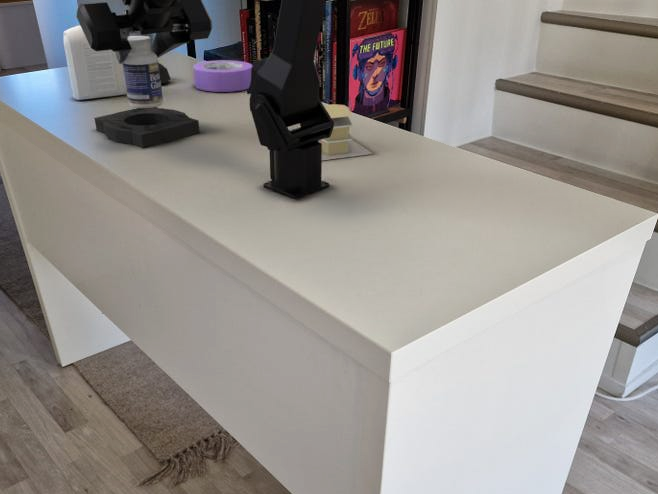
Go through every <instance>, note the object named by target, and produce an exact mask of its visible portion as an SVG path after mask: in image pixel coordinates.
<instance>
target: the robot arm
mask: <svg viewBox="0 0 658 494" xmlns="http://www.w3.org/2000/svg"><path fill="white" fill-rule="evenodd" d="M121 1H122V3H123V5H124V6H127V8H128V9H125V10H124V14H118V15H117V13H116V12H115V11H113V12H112V10H111V8H110V6H109V4H108V2H107V1H93V2H91V1H90V2H80V3H79V5H78V7H77V9H76V16H75V17H76V19H77V21H78V23H79V25H80V26H81V28H82V30H83V32H84V34H85V36H86V39H87V41H88V43H89V45H90V47H91V49H93V50H95V51H104V50H112V51H114V52H115V54H116V57H117V60H118V62H119V64H122V63H123V62H124V61H125V59H126V58H127V56H128V54H129V53H130V51H131V49H132V48H131V45H130V43H129V41H128V37H129V36H130V34H131V35H132V34H138V33H140V36H145V35H152V34H155V36H154V39H153V43H152V48H151V52H153V53H155V54H156V55H157V58H158V59H159V58H161V57H162V56H164V55H166V54H168V53H169V52H171V51H173V50H175V49H178V48H179V47H181V46H183V45H185V44H189V43H190V42H191V40H192V41H197V40H205V39H209V37H210V35H211V32H212V30H213V27H214V26H213V20H212V18H211V16H210V14H209V11H208V10H207V7H206V6H205V3H204V1H203V0H121ZM326 3H327V0H281V3H280V9H279V15H278V20H277V25H276V30H275V31H276V32H275V38H274V43H273V48H272V51H271V53H270V55H269V56H268V57H266V58H262V59H257V60H254V61H253V63H252V64H251V65H252V68H251V83H250V86H249V88H248V89H246V94H247V95H249V110H250V112H251V116H252V119H253V123H254V127H255V130H256V134H257V138H258V141H259V144H260V146H263V147H265V148H267V150H268V151H269V176H270V177H269V178H270V180H269V181H266V182H263V186H262V187H263V188H264V189H266V190H269V191H271V192H275V193H277V194H280V195H282V196H285V197H288V198H290V199H294V200H300V199H303V198H305V197H309V196H310V195H314V194H316V193H318V192H322V191H323V190H326V189H329V188H330V182H327V181H324V180H322V176H323V175H322V171H323V170H322V169H323V167H322V165H323V164H322V163H323V162H322V161H323V160H322V143H319V142H318V141H319V140H322V139H325V138H330V137H331V134H332V131H333V128H334V122H333V120H332V118H331V117H330V115H329V114H328V112H327V110H326V109H325V107H324V106H325V105H324V103H323V102H322V101H321V99H320V97H319V96H320V85H321V82H320V77H319V73H318V69H317V67H316V62H315V54H316V50H317V45H318V41H319V36H320V31H321V27H322V22H323V18H324V13H325V9H326ZM296 125H299V127H296V128H292V129H289V128H290V127H293V126H296Z"/></svg>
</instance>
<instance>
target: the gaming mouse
mask: <svg viewBox="0 0 658 494" xmlns="http://www.w3.org/2000/svg"><path fill="white" fill-rule="evenodd" d="M158 64H159V72H160V80H161V85H163V84H165V83H167V82H170V81H171V80H172V79H171V76H170V72H169V70H168V68H166V66H164V65H163V64H162V63H160V62H158Z"/></svg>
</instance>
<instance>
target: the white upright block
mask: <svg viewBox="0 0 658 494" xmlns="http://www.w3.org/2000/svg"><path fill="white" fill-rule="evenodd" d="M62 35H63V36H62V37H63V49H64V53H65V59H66V60H65V61H66V64H67V70H68V77H69V81H70V87H71V93H72V97H73V99H74V100H77V101H82V100H90V99H98V98H108V97H115V96H117V97H118V96H127V89H126V82H125V76H124V69H123V63H122V64H119V62H118V60H117V57H116V54H115V52H114V51H112V50H104V51H95V50H93V49H91V47H90V45H89V43H88V41H87V39H86V36H85V34H84V32H83V30H82V28H81V26H80V24H79V25H76V26H73V27H70V28H68V29H66V30H64V31H63V34H62Z"/></svg>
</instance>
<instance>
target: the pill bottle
mask: <svg viewBox="0 0 658 494" xmlns="http://www.w3.org/2000/svg"><path fill="white" fill-rule="evenodd" d="M128 41H129V43H130V45H131V48H132V49H131V51H130V53H129V54H128V56H127V58H126V59H125V61H124V62H123V69H124V76H125V82H126V89H127V94H126V96H127V101H128V105H129V106H130V107H132V108H133V109H137V108H153V107H158V108H159V107H160V106H162V105H163V103H164V98H163V97H164V96H163V90H162V89H163V88H162V84H161V80H160V72H159V64H158V63H159V58H157V55H156V54H155V53H153V52H151V50H152V45H153V43H152V39H151V36H148V35H131V36H130V35H129V37H128Z"/></svg>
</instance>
